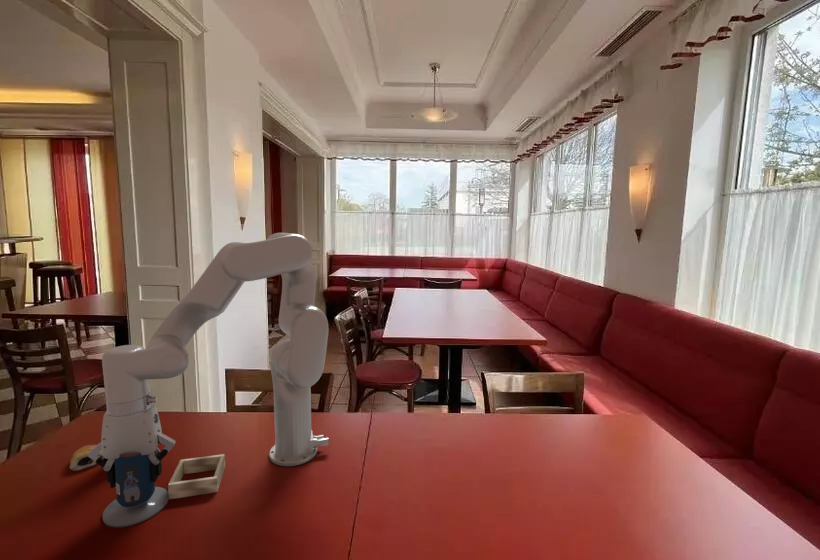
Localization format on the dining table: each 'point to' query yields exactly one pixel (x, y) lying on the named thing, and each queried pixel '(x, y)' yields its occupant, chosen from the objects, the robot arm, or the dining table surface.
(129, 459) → the soda can
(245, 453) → the dining table surface
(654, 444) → the dining table surface
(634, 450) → the dining table surface
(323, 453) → the dining table surface
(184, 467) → the cup holder
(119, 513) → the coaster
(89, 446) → the pastry
